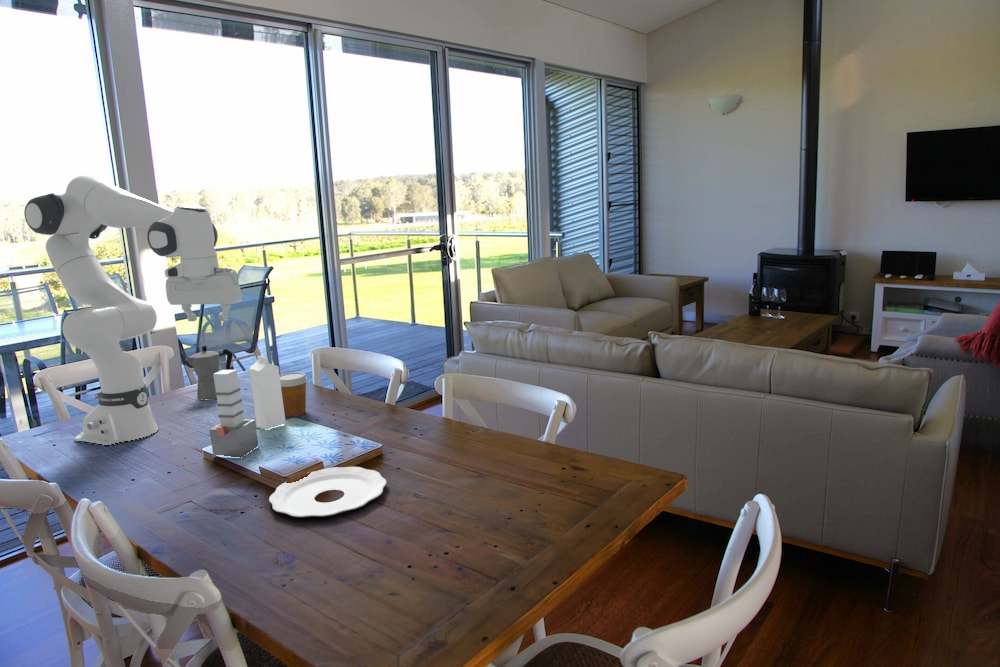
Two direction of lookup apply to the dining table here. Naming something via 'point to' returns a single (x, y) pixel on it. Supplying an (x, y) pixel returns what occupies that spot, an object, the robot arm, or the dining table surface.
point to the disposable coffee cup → (293, 393)
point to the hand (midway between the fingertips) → (208, 320)
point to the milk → (267, 394)
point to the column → (228, 399)
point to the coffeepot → (207, 370)
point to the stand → (234, 439)
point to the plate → (301, 494)
